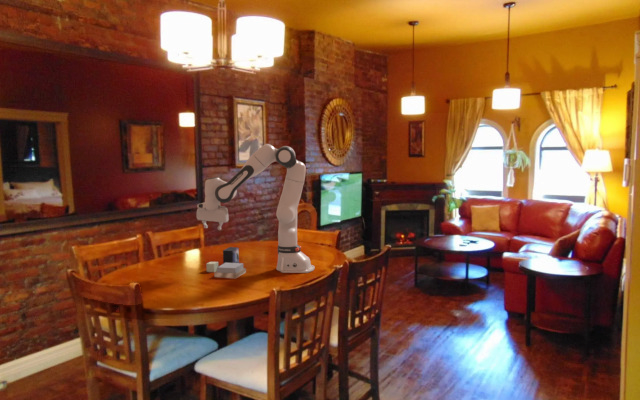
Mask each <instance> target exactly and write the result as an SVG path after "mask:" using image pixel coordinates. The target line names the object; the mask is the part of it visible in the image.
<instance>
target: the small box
mask: <svg viewBox="0 0 640 400" xmlns="http://www.w3.org/2000/svg"><path fill="white" fill-rule="evenodd" d="M239 249H240V248H239V247H234V246H229V247H227V248H225V249H224V250H222V258H223V260H222V261H223V262H222V264H224V263H240V255H239V254H240V252H239V251H240V250H239Z"/></svg>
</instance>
